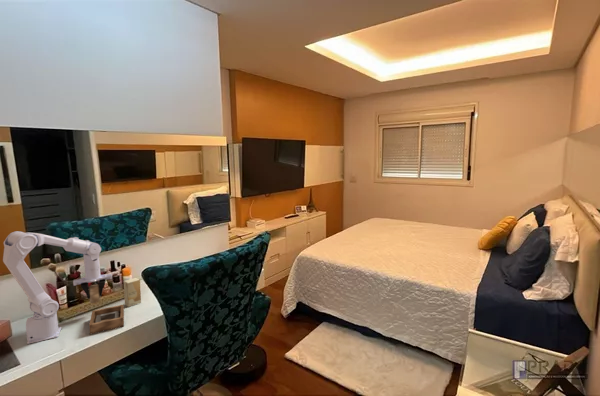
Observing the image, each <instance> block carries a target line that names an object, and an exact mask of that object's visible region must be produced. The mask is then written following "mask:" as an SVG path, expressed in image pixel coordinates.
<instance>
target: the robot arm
mask: <svg viewBox="0 0 600 396" xmlns="http://www.w3.org/2000/svg"><path fill="white" fill-rule="evenodd" d="M79 238H80V237H76V236H73V237H69V238H67V239H64V238H60V237H56V236H52V235H47V234H44V233H37V232H27V231H26V232H24V231H17V230H16V231H13V232H10V233H9V234H8V235H7V236H6V238H5V240H4V241H3V247H4V248H3V254H2V255H3V256H2V262H3V264H4V265H5V267H6V268H7V269H8V271H9V272H10V274H11V275H12V276H13V278H14V279H15V280H16V283H18V285H19V287H20V288H21V290H22V291H23V292H24V294H25V295H26V296H27V301H28V304H29V310H30V311H32V312H33V316H31V317H27V319H26V322H25V331H26V340H27V345H29V344H32V343H37V342H42V341H45V340H47V341H48V340H50V339H56V338H58V337H59V335H60V332H61V330H62V326H59V322H58V313H57V312H58V310H59V308H60V305H59V303H58V301H56V300H54V299H52V298H51V296H50V295H49V294H48V293H47V292H46V291H45V289H44V287H42V285H41V284H40V283H39V281H38V279H37V278H36V277H35V275H34V273H33V272H32V271H31V269H30V267H29V266H28V265H27V263H26V262H25V259H26V257H27V255H28V254H30V252H31V251H32V250H34V248H35V247H40V246H42V245H44V244H45V245H51V246H56V247H62V248H63V249H64V250H65V251H66V252H71V253H76V254H81V255H83V262H84V263H83V264H84V275H85V277H82V278H77V279H73V281H72V284H73V287H74V286H77V285H80V288H81V289H82V290H83V291H84V293H85V295H86V298H87V300H90V297H89V283H94V282H95V283H96V282H98V285H99V289H100V298H101V297H103V291H104V287H105V285H106V282H107V280H113V274H112V273H109V274H101V265H100V264H101V263H100V253H102V252H101V251H102V247H101V245H100V244H99V243H97V242H92V241H90V240H88V239H85V240H83V239H79Z"/></svg>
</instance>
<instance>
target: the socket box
mask: <svg viewBox="0 0 600 396" xmlns="http://www.w3.org/2000/svg"><path fill="white" fill-rule="evenodd" d="M88 326H89V327H88V328H89V335H94V334H98V332H99V333H102V332H108V331H111V330H116V329H120V328H124V326H125V309H124V304H119V305H118V304H117V305H114V306H110V307H105V308H99V309H94V310H92V311H91V316H90V320H89V325H88ZM115 328H116V329H115Z"/></svg>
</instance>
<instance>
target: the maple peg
mask: <svg viewBox="0 0 600 396" xmlns="http://www.w3.org/2000/svg"><path fill="white" fill-rule="evenodd" d="M88 286H89V285H88ZM89 297H90V299H89V303H90V304H96V303H98V302H100V301H101V297H100V287H99V284H93V285H90V286H89Z"/></svg>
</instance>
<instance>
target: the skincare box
mask: <svg viewBox="0 0 600 396" xmlns="http://www.w3.org/2000/svg"><path fill="white" fill-rule="evenodd" d="M123 292H124V293H123V294H124V295H123V296H124V305H125V306H126V307H128V308H130V307H132V306H136V305H139V304H142V296H141V294H142V293H141V292H142V291H141V280H140V278H138V277H135V278H134V277H133V278H129V279H126V280H123Z"/></svg>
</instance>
